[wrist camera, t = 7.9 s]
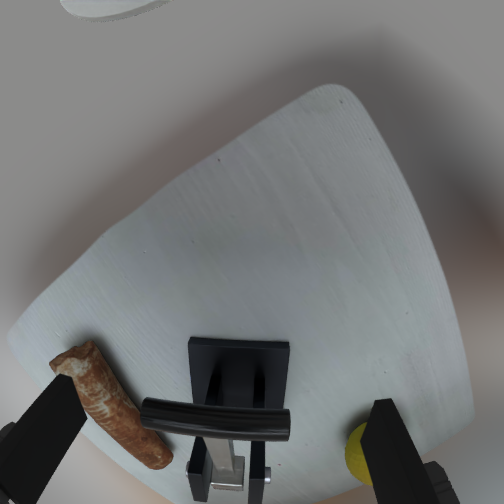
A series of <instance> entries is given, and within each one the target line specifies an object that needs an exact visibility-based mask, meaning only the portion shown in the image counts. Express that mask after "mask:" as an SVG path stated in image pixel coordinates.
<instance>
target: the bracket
mask: <svg viewBox="0 0 504 504" xmlns="http://www.w3.org/2000/svg"><path fill="white" fill-rule="evenodd" d="M188 353H189V365H190V376H191V386H192V395H193V404H202V405H212V406H224V407H240V408H264V409H283V405H284V397H285V389H286V380H287V372H288V363H289V353H290V346H289V342H264V341H240V340H222V339H207V338H194V337H190V340H189V342H188ZM211 469H212V458H211V456H210V453H209V451H208V449H207V446H206V444H205V441H204V439H203V437H197V436H196V438H195V442H194V446H193V450H192V454H191V458H190V461H188V462H187V465H186V477H187V478H188V479H189V483H190V487H191V491H192V495H193V499H194V501H200V502H207V499H208V493H209V487H210V478H211ZM270 482H271V467H265V441H251V454H250V473H249V493H248V504H262V499H263V491H264V484H270Z"/></svg>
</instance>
